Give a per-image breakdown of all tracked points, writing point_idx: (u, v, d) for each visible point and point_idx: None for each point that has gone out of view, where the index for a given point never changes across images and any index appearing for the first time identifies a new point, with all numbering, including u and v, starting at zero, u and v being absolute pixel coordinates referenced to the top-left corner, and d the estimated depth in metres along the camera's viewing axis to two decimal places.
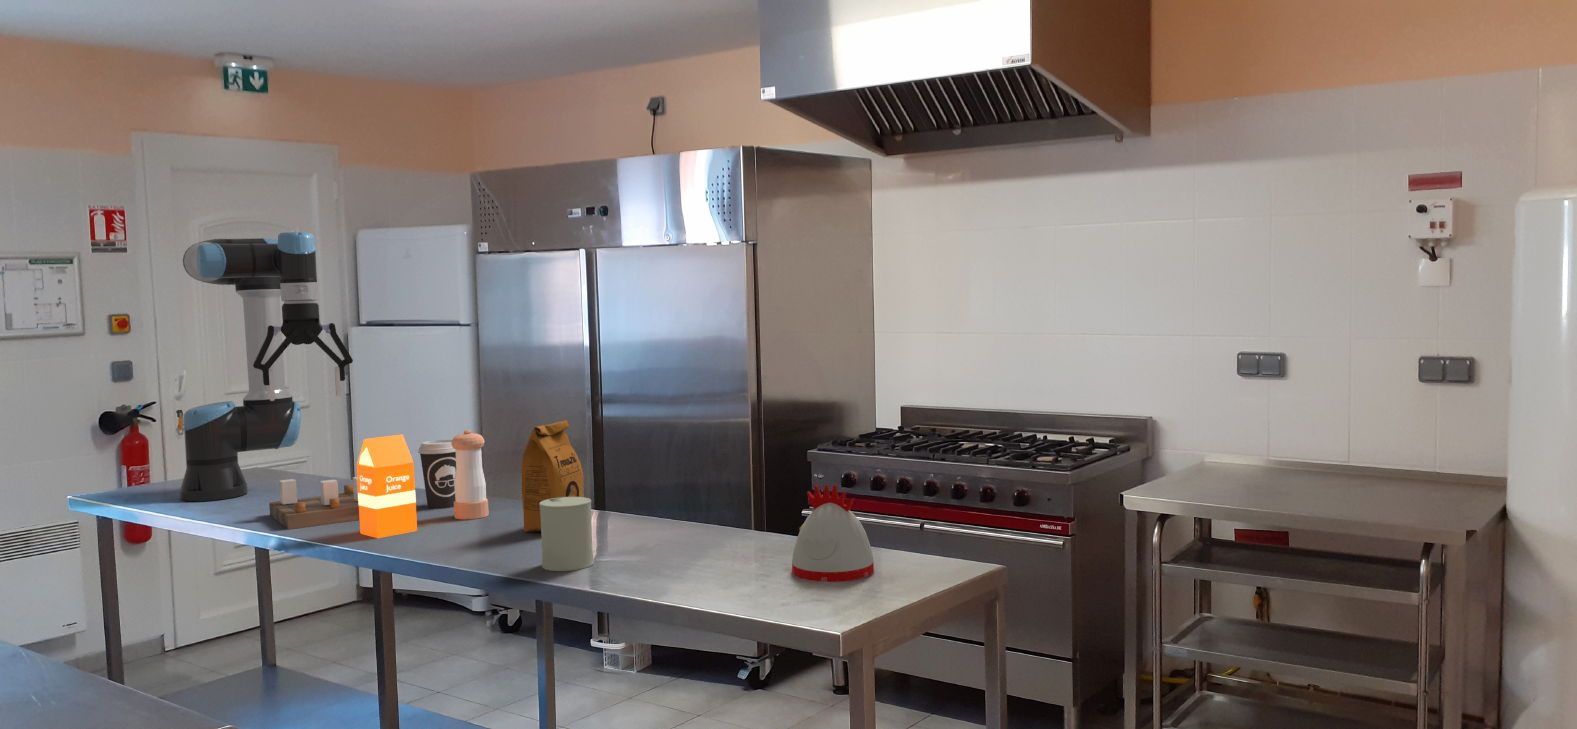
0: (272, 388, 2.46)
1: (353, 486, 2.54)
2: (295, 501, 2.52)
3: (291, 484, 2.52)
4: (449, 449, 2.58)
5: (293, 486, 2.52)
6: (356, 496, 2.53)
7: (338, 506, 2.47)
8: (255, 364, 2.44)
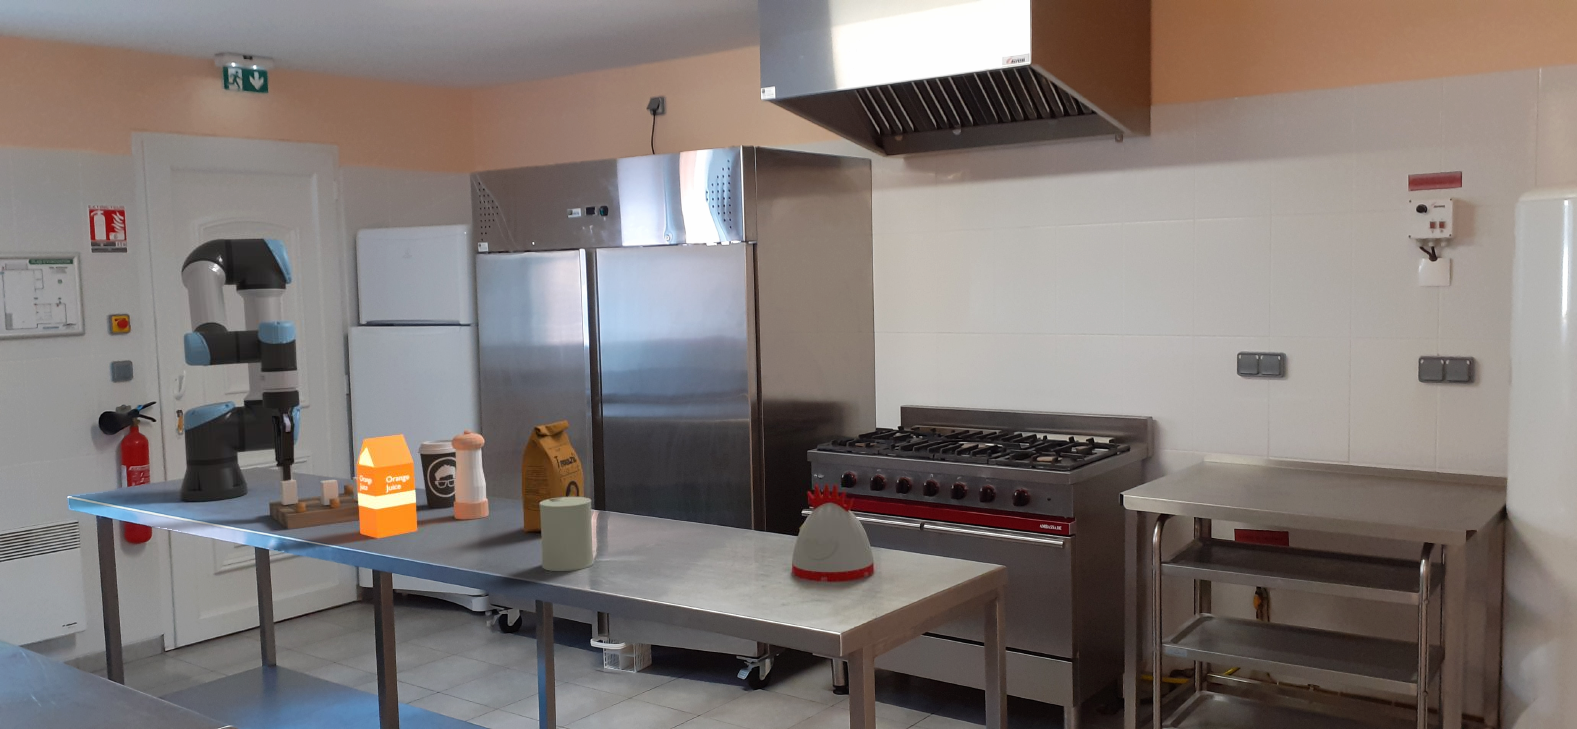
0: (279, 482, 2.53)
1: (353, 486, 2.54)
2: (296, 502, 2.52)
3: (291, 485, 2.51)
4: (449, 449, 2.58)
5: (294, 487, 2.51)
6: (356, 496, 2.53)
7: (338, 506, 2.47)
8: (275, 458, 2.56)
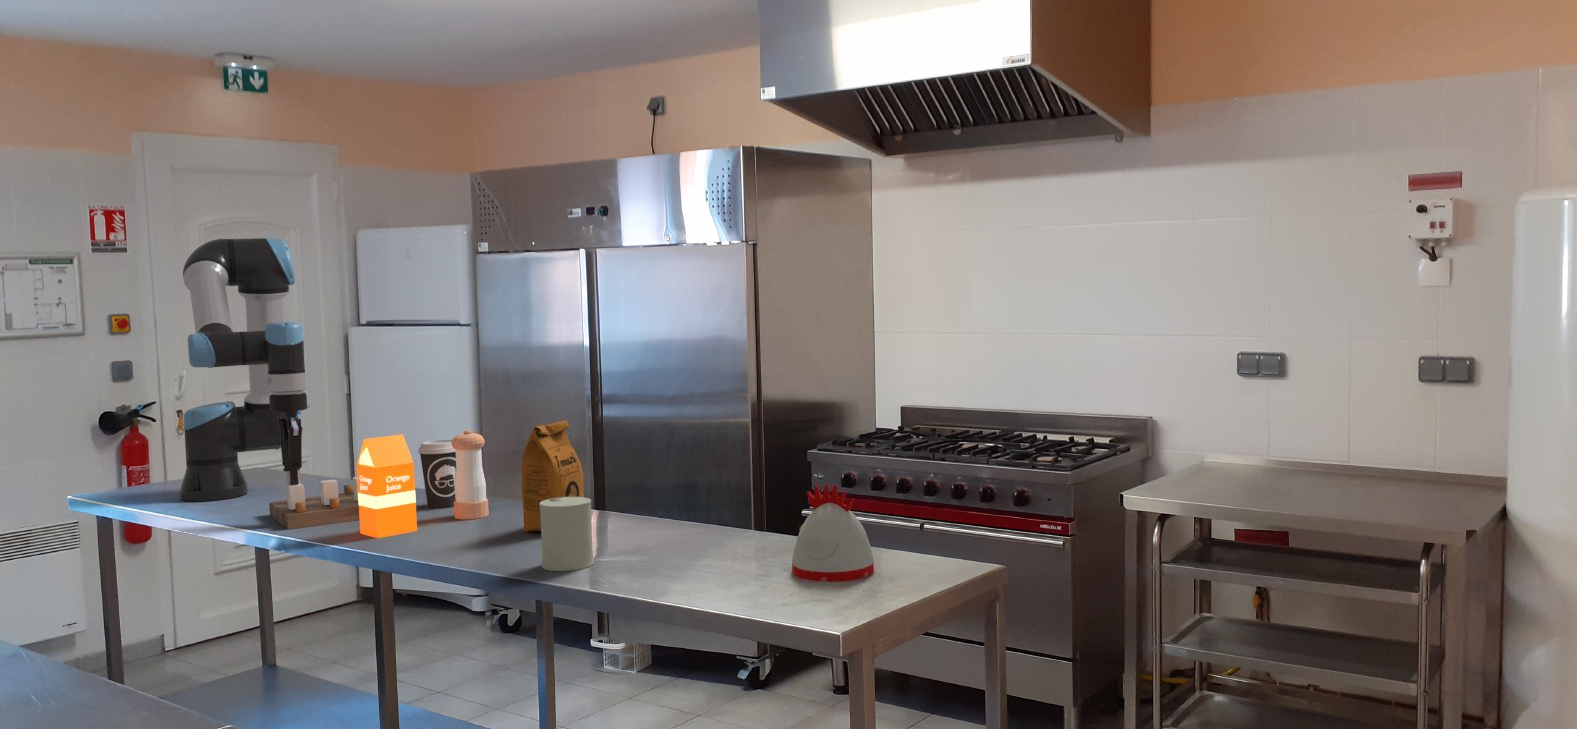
0: (286, 487, 2.47)
1: (353, 486, 2.54)
2: None
3: (299, 489, 2.45)
4: (449, 449, 2.58)
5: (301, 491, 2.45)
6: (356, 496, 2.53)
7: (338, 506, 2.47)
8: (282, 462, 2.49)
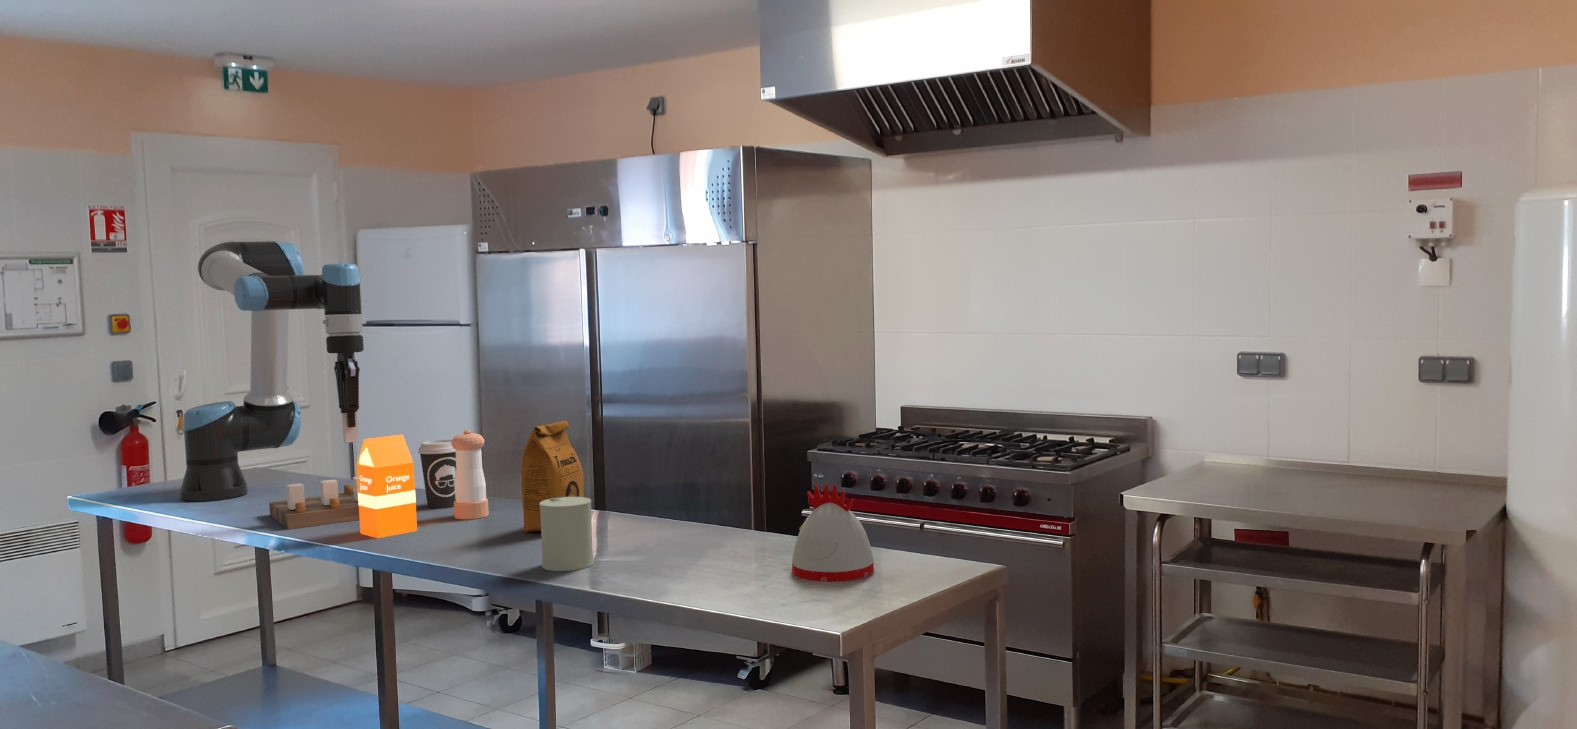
0: (343, 430, 2.47)
1: (353, 486, 2.54)
2: None
3: (299, 489, 2.45)
4: (449, 449, 2.58)
5: (301, 491, 2.45)
6: (356, 496, 2.53)
7: (338, 506, 2.47)
8: (339, 405, 2.49)
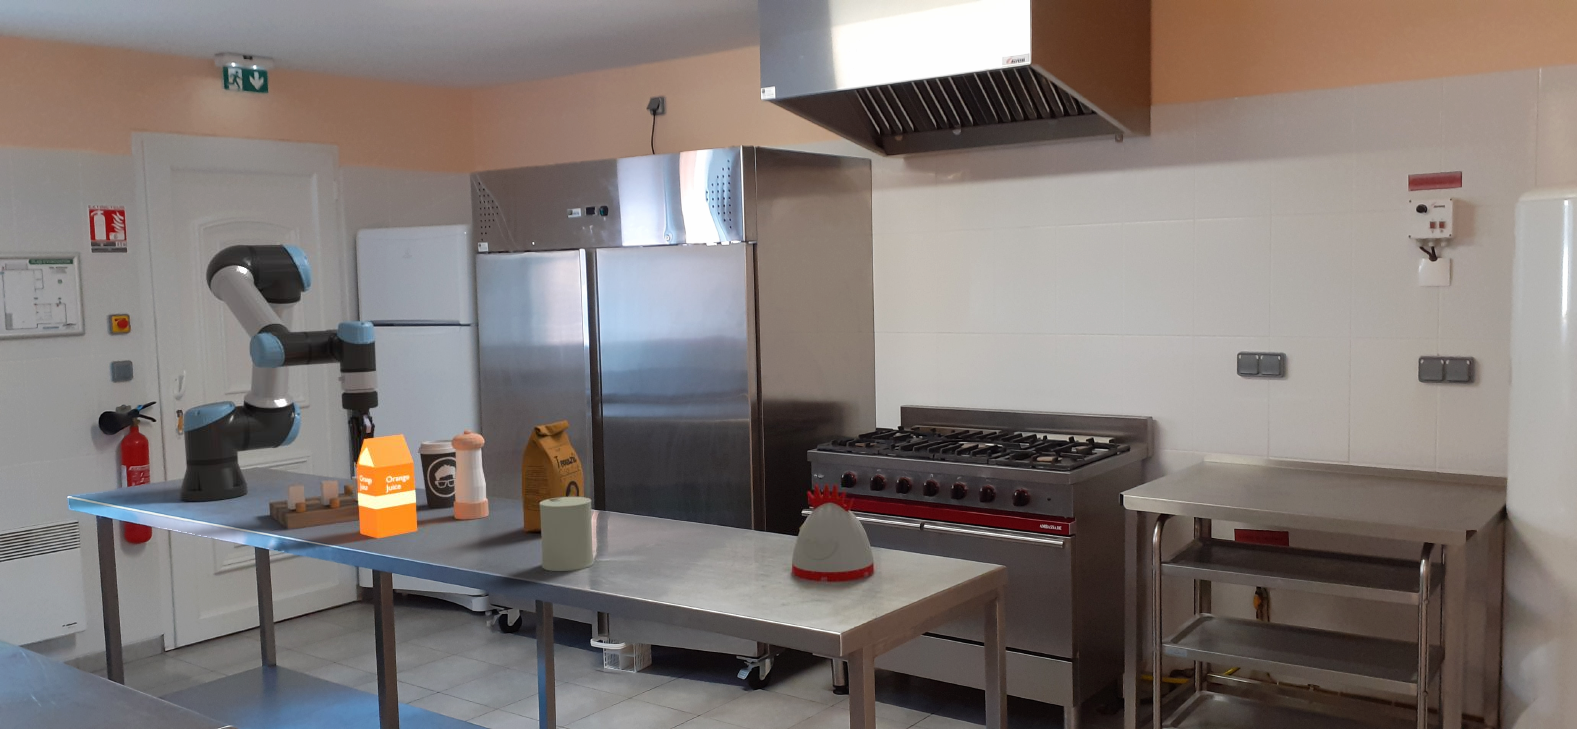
0: None
1: None
2: None
3: (299, 489, 2.45)
4: (448, 449, 2.58)
5: (301, 491, 2.45)
6: (355, 496, 2.53)
7: (338, 506, 2.47)
8: (353, 459, 2.54)
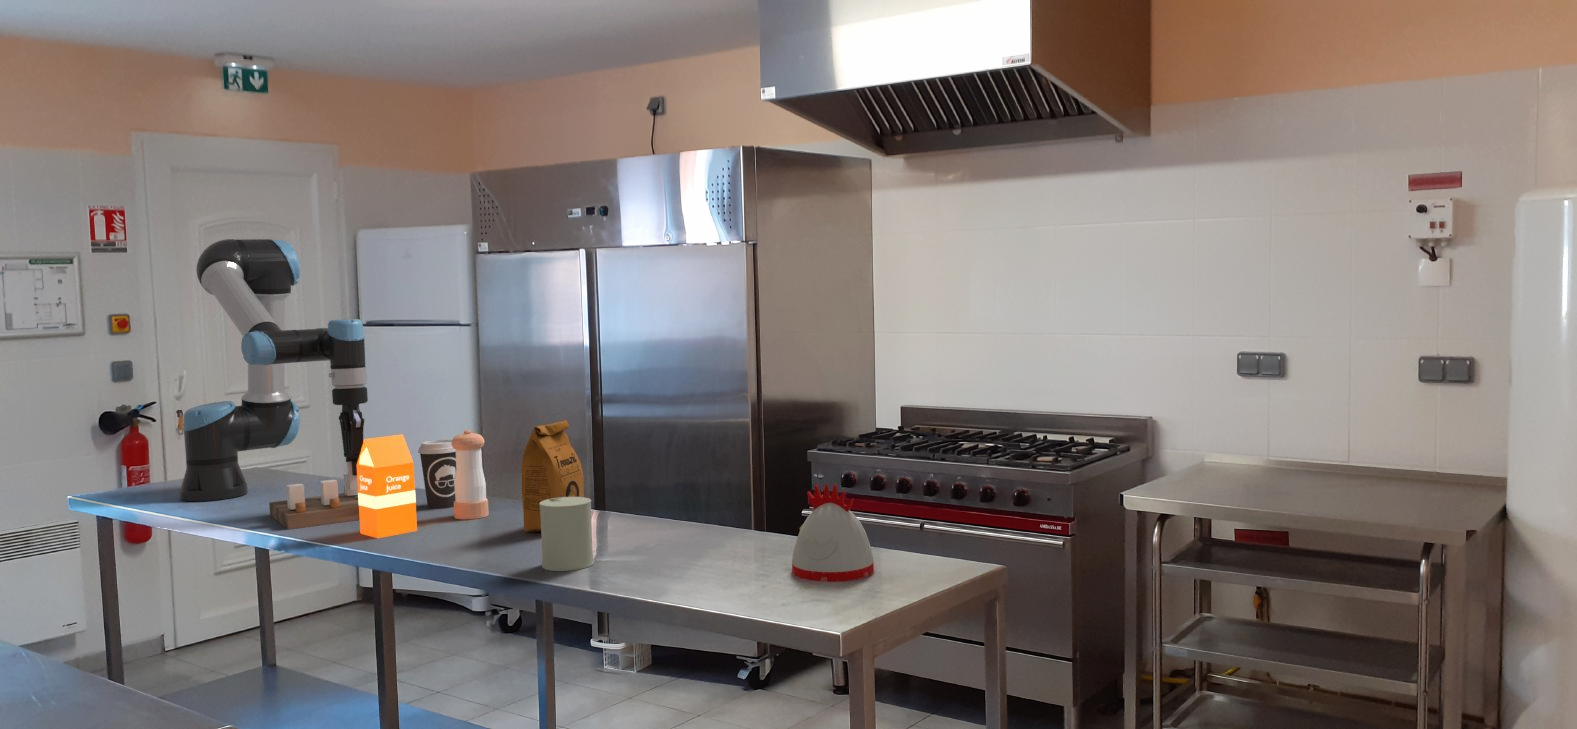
0: (348, 477, 2.58)
1: (344, 481, 2.61)
2: None
3: (299, 489, 2.45)
4: (449, 449, 2.58)
5: (301, 491, 2.45)
6: (347, 491, 2.60)
7: (338, 506, 2.47)
8: (344, 453, 2.60)
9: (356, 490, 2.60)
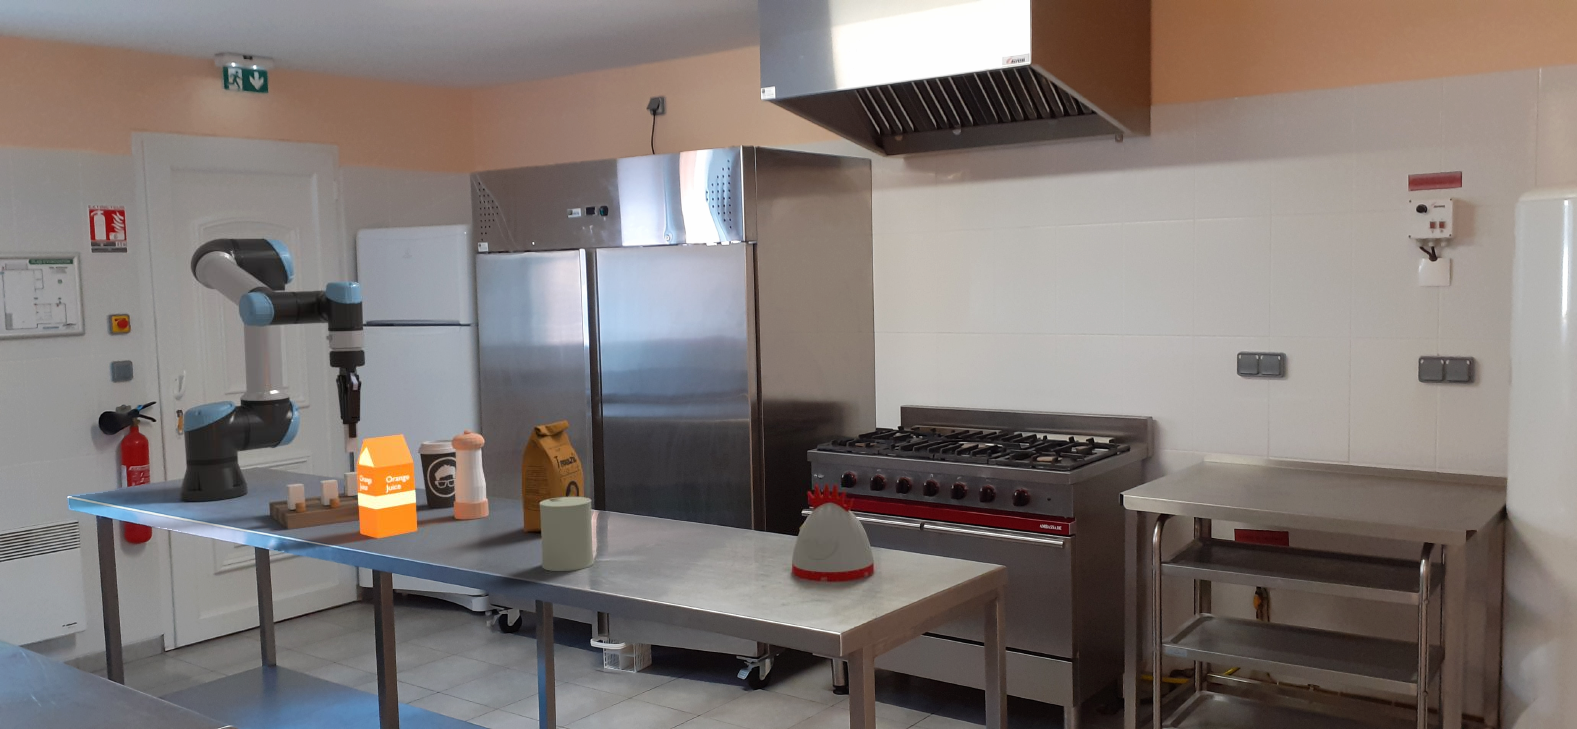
0: (345, 440, 2.59)
1: (344, 482, 2.61)
2: None
3: (299, 489, 2.45)
4: (449, 449, 2.58)
5: (301, 491, 2.45)
6: (347, 491, 2.60)
7: (338, 506, 2.47)
8: (340, 416, 2.61)
9: (356, 490, 2.60)
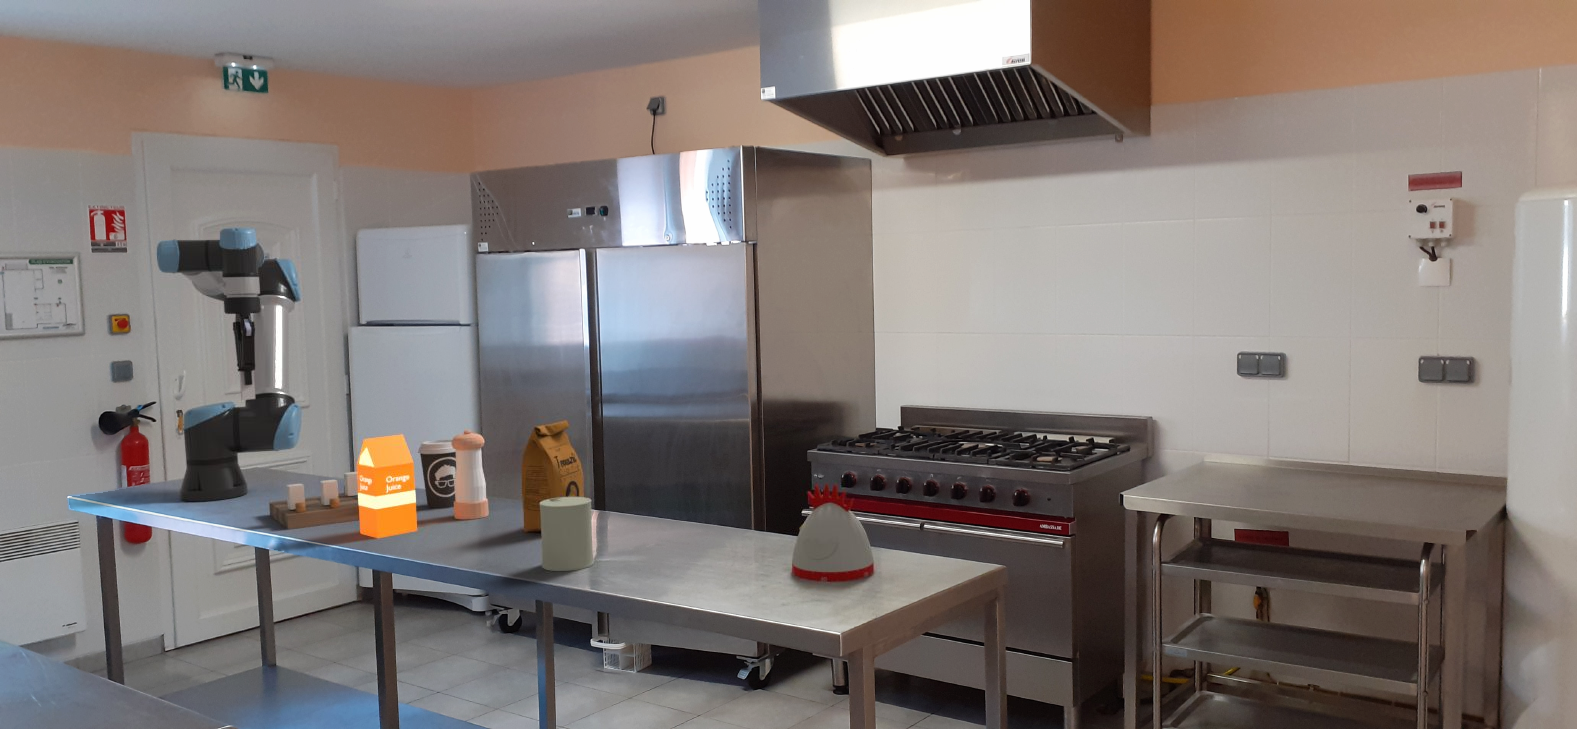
0: None
1: (344, 482, 2.61)
2: None
3: (299, 489, 2.45)
4: (449, 449, 2.58)
5: (301, 491, 2.45)
6: (347, 491, 2.60)
7: (338, 506, 2.47)
8: (237, 364, 2.60)
9: (356, 490, 2.60)
